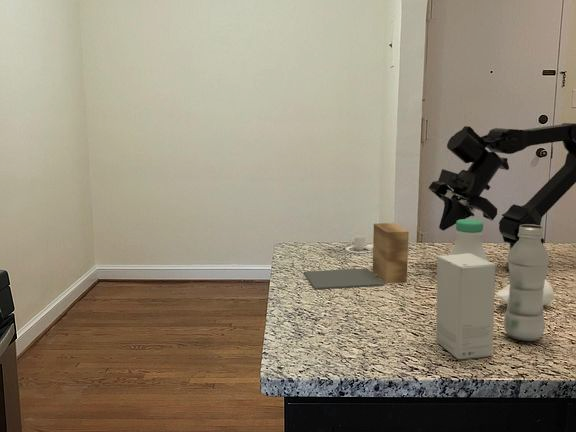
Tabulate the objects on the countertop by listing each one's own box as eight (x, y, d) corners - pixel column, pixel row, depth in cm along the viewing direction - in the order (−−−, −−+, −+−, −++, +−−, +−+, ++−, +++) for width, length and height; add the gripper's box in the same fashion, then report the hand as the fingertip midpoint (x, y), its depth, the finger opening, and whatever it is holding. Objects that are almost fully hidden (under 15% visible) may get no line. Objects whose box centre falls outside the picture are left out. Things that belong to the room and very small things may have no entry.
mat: (366, 269, 145) (366, 268, 145) (383, 285, 132) (384, 283, 132) (303, 273, 142) (303, 271, 142) (314, 289, 130) (314, 287, 130)
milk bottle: (488, 323, 109) (494, 218, 105) (483, 338, 102) (490, 226, 99) (446, 317, 112) (451, 215, 109) (438, 331, 106) (443, 223, 102)
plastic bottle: (547, 346, 99) (557, 231, 95) (505, 343, 100) (513, 229, 96) (539, 332, 105) (548, 223, 101) (499, 329, 106) (507, 222, 102)
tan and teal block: (392, 270, 144) (393, 222, 142) (406, 282, 135) (408, 231, 132) (372, 271, 144) (373, 223, 141) (385, 283, 134) (387, 232, 132)
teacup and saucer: (381, 250, 166) (381, 236, 165) (369, 256, 160) (369, 241, 159) (353, 246, 171) (353, 232, 170) (340, 252, 164) (340, 237, 163)
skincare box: (493, 357, 95) (499, 264, 92) (455, 361, 93) (460, 267, 90) (467, 337, 103) (472, 251, 100) (432, 340, 101) (436, 253, 99)
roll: (485, 307, 118) (486, 280, 117) (530, 299, 123) (532, 274, 122) (506, 317, 113) (508, 289, 112) (553, 308, 117) (555, 282, 116)
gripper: (434, 148, 141) (397, 201, 141) (487, 163, 125) (446, 223, 125) (460, 173, 146) (425, 224, 146) (515, 191, 130) (475, 248, 130)
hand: (441, 229), depth 137 cm, fingers closed
